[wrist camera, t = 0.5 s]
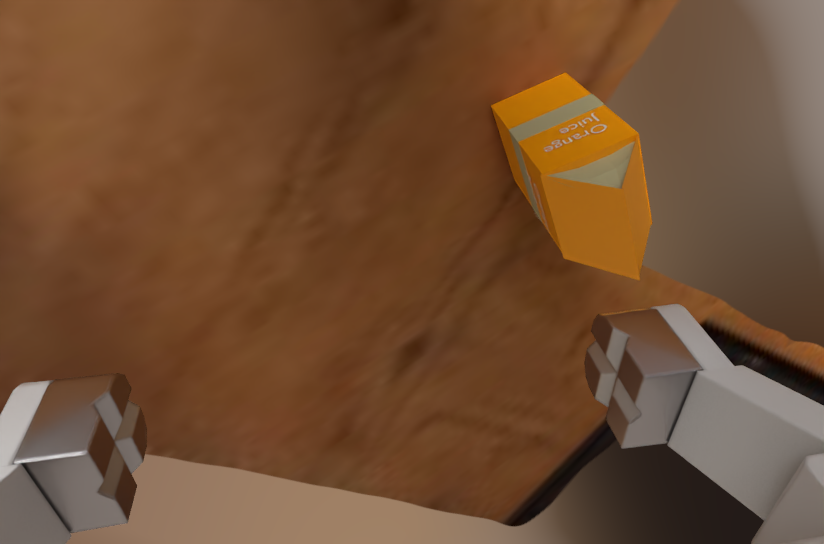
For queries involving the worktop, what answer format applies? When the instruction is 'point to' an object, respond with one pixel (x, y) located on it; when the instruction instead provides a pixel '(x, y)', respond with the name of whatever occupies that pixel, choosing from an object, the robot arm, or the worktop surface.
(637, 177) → the orange juice
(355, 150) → the worktop surface
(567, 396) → the worktop surface
